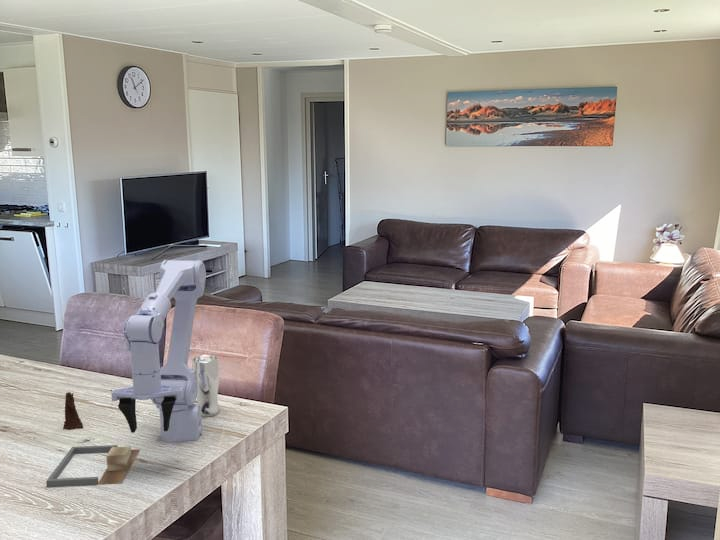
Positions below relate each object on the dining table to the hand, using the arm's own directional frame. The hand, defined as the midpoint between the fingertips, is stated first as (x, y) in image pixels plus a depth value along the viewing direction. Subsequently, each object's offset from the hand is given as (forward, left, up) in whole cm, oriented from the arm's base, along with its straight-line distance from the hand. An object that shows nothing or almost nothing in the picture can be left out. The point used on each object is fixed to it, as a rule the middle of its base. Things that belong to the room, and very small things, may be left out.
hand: (150, 429), depth 137 cm
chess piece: (+25, -22, -10) cm, 34 cm away
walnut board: (+7, 0, -9) cm, 12 cm away
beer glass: (-7, -30, -10) cm, 32 cm away
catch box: (+15, 0, -9) cm, 17 cm away
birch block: (+7, 0, -8) cm, 11 cm away
